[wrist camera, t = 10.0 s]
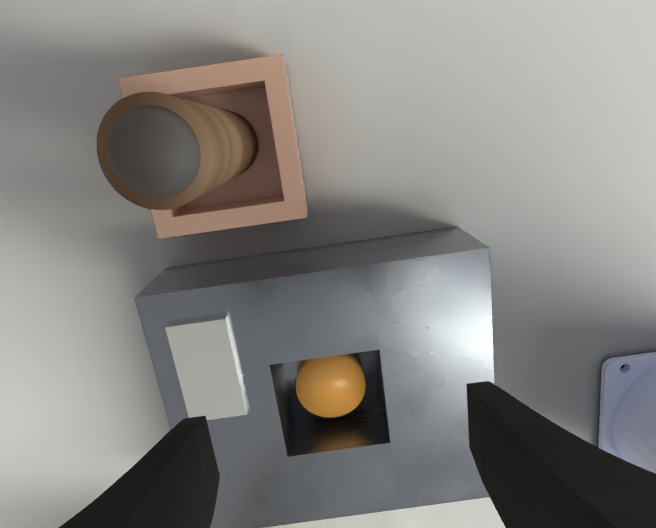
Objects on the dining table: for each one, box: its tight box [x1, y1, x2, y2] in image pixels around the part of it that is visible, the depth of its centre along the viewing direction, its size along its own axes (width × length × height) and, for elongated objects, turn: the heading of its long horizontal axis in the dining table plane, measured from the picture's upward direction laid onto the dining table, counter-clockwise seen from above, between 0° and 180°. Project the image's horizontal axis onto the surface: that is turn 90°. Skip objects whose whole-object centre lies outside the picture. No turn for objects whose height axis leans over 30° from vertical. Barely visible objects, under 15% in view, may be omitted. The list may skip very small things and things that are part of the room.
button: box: [296, 353, 366, 418], centre depth 21 cm, size 3×3×1 cm
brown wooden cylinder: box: [97, 92, 258, 210], centre depth 15 cm, size 3×3×10 cm
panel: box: [135, 227, 495, 528], centre depth 21 cm, size 14×12×4 cm
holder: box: [117, 54, 308, 239], centre depth 19 cm, size 6×6×2 cm
